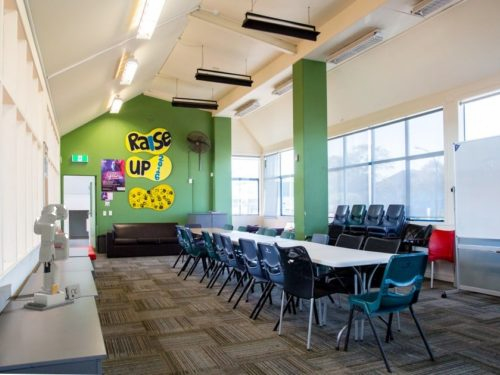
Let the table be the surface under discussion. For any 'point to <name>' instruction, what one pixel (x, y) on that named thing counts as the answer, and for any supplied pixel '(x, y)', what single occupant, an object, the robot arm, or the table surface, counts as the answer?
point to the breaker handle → (54, 288)
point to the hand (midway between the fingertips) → (47, 272)
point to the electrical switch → (73, 291)
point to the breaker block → (48, 300)
